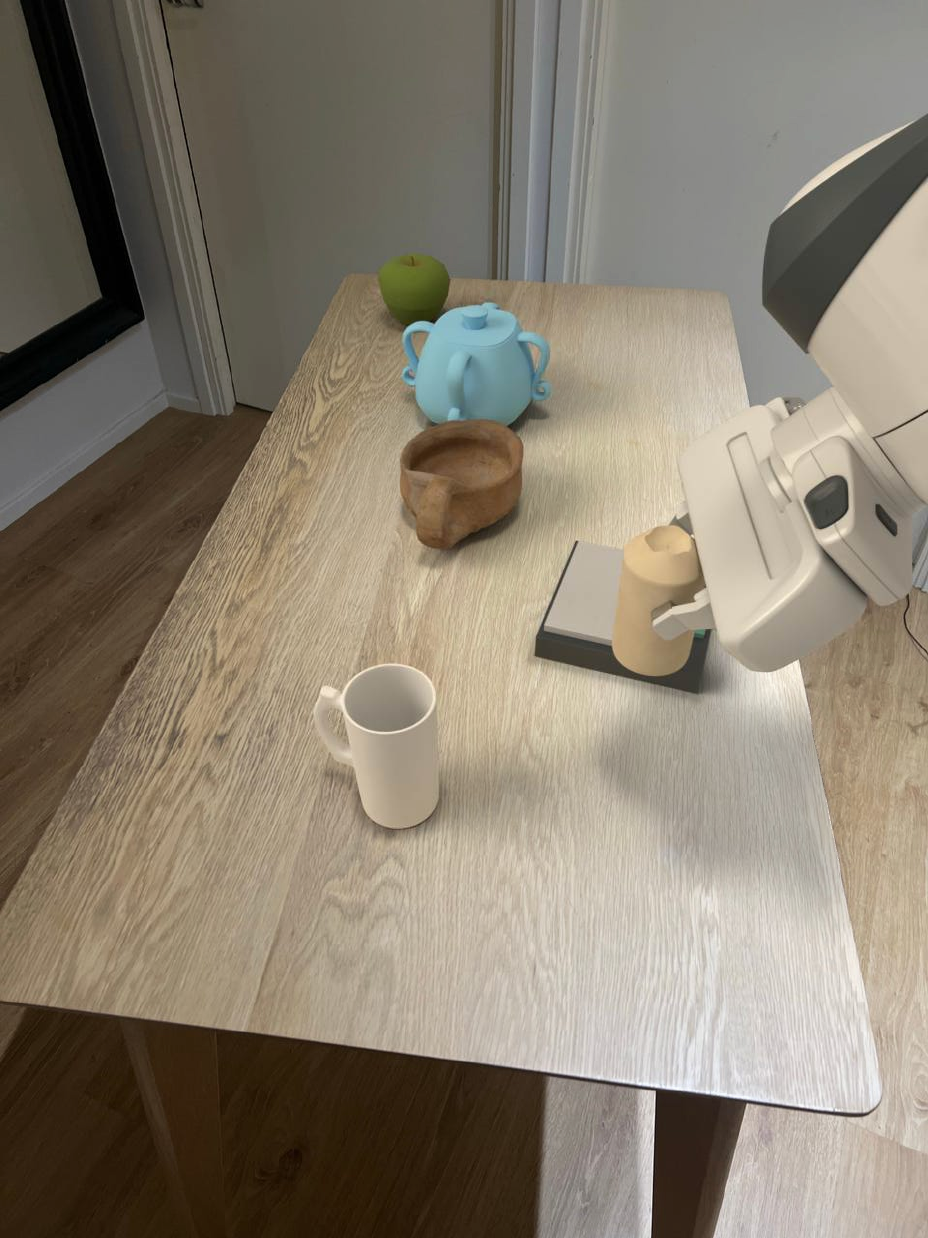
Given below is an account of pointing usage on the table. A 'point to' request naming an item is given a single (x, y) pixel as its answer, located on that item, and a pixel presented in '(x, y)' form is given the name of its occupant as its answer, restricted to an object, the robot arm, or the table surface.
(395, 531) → the table surface
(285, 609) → the table surface
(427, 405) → the decorative pot
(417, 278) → the apple
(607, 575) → the scale
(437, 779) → the mug
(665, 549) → the candle
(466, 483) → the bowl
